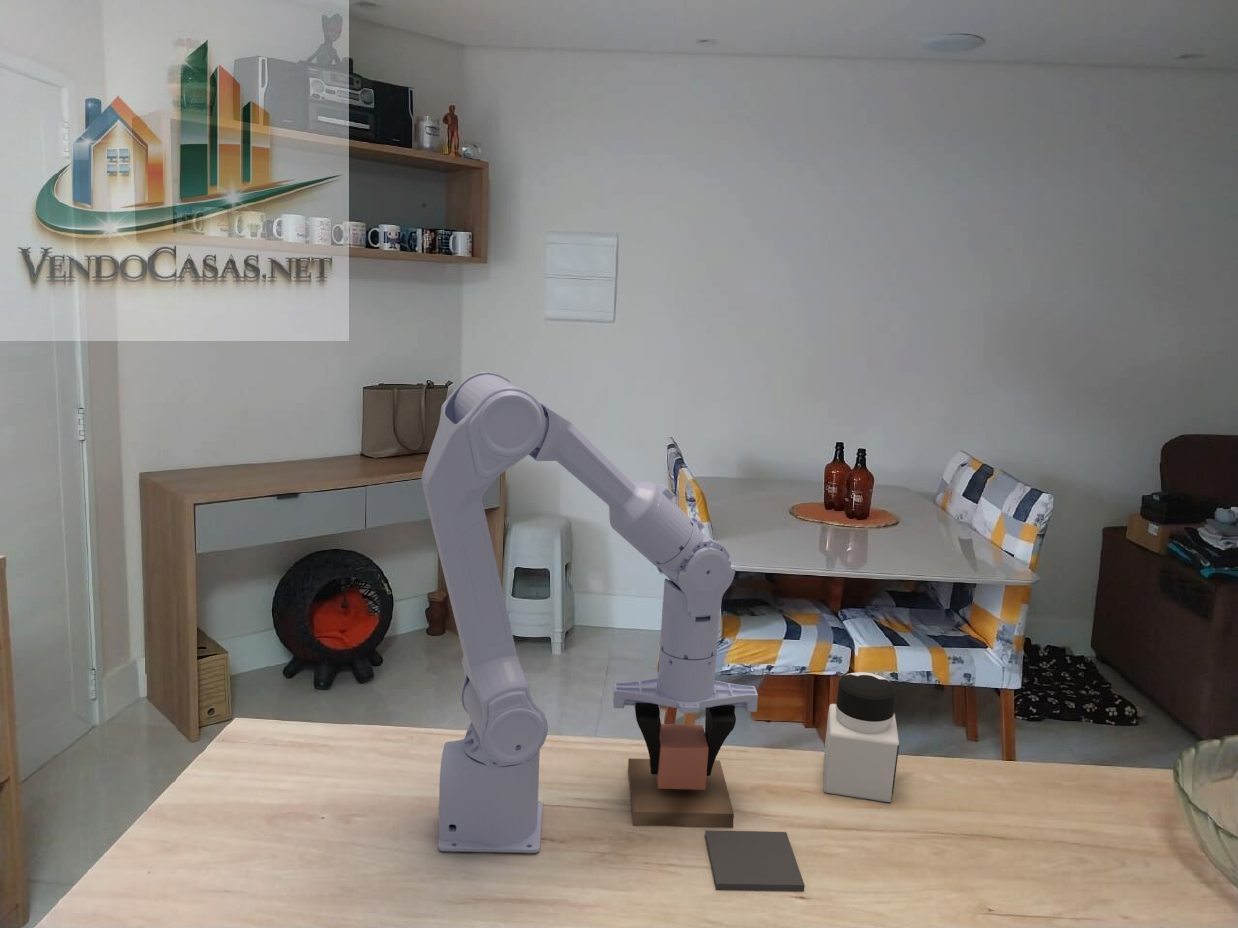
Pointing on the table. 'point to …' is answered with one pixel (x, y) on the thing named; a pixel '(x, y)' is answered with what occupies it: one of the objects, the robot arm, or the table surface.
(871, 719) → the medicine bottle
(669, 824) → the post block
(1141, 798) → the table surface
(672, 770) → the terracotta cube
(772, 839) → the mat
